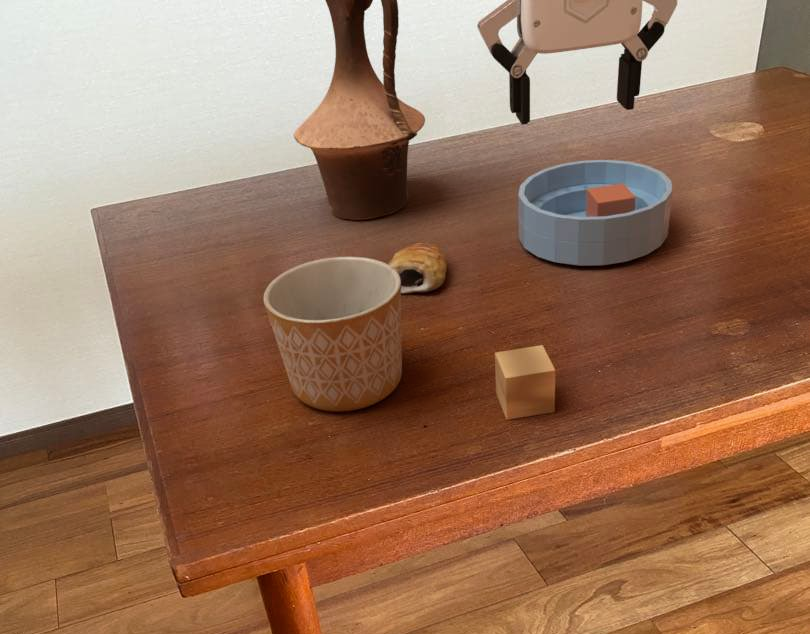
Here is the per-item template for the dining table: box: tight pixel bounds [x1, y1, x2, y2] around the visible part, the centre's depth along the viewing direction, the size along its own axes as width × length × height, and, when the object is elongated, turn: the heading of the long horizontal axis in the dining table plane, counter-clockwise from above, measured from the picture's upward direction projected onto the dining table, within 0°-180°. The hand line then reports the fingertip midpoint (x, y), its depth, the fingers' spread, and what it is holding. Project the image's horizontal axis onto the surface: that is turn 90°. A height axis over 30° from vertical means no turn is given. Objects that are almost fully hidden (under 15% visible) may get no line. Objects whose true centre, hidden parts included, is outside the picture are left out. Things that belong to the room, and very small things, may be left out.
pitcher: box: [293, 0, 426, 221], centre depth 111 cm, size 18×17×28 cm
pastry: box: [387, 242, 448, 295], centre depth 102 cm, size 9×7×4 cm
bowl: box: [517, 159, 674, 267], centre depth 105 cm, size 17×17×6 cm
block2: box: [586, 184, 636, 217], centre depth 105 cm, size 4×4×4 cm
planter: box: [263, 256, 403, 413], centre depth 84 cm, size 13×13×10 cm
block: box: [494, 344, 556, 421], centre depth 81 cm, size 4×4×4 cm
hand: (573, 112), depth 82 cm, fingers open, 9 cm apart
